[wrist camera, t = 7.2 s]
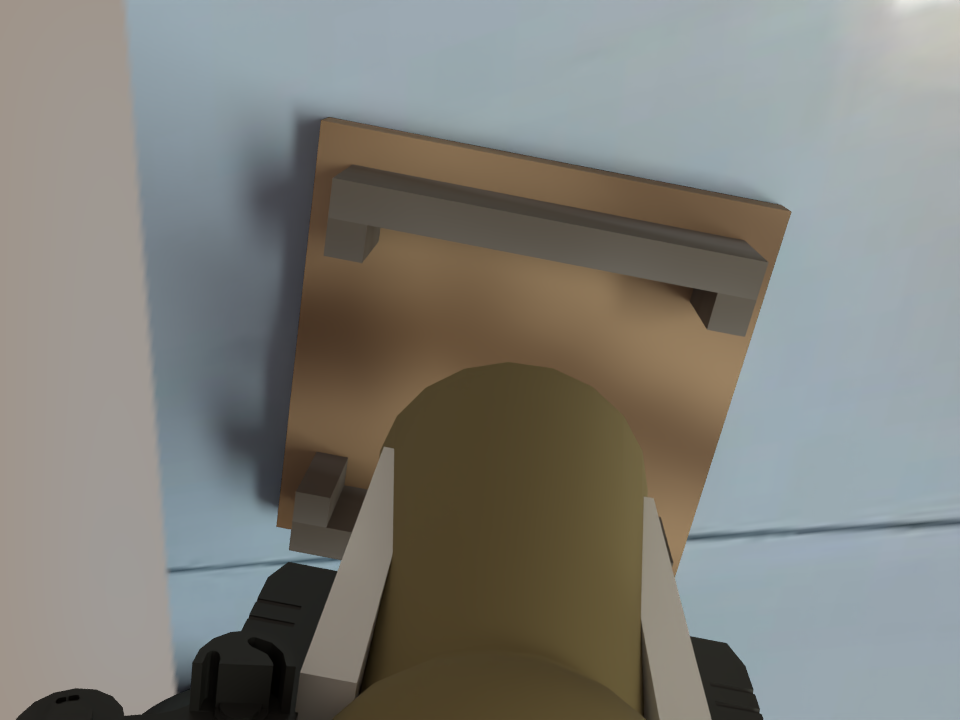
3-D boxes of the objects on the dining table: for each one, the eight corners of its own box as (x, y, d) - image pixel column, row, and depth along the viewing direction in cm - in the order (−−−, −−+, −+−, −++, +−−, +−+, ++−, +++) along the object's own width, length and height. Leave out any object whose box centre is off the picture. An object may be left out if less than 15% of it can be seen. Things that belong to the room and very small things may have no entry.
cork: (349, 561, 20) (146, 1131, 9) (414, 327, 17) (243, 735, 7) (595, 630, 20) (660, 1258, 10) (688, 408, 18) (902, 913, 7)
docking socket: (662, 581, 28) (679, 652, 25) (284, 510, 28) (252, 571, 25) (780, 204, 24) (821, 230, 20) (329, 117, 24) (296, 129, 20)
